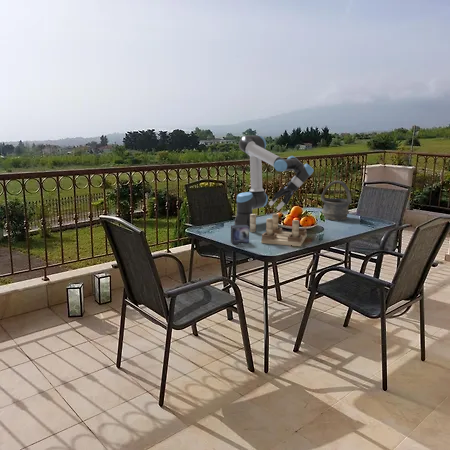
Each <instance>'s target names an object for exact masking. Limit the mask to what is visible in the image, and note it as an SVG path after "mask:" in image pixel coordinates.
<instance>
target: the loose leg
mask: <svg viewBox="0 0 450 450" xmlns="http://www.w3.org/2000/svg"><path fill="white" fill-rule="evenodd" d="M256 230H257V214H256V213H252V214H250V226H249V233H256V232H257V231H256Z"/></svg>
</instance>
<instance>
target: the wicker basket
mask: <svg viewBox="0 0 450 450" xmlns="http://www.w3.org/2000/svg"><path fill="white" fill-rule="evenodd" d="M335 184H338V185H340V186H342V187H343V189H344V191H345V193H346V194H345V195H346V198H335V197H331V198H330V197H329V198H326V197H325V194H326V193H327V192H328V189H330V188H331V186H334V185H335ZM347 185H348V184H346V183H345V182H344V181H342V180H333V181H331V182H330V183H329V184H328V185H327V186H326V187H325V188H324V190H323V191H322V193H321V194H320V200H321V201H322V203H324V204H323V206H322V207H323V208H322V210H321V213H322V215H323V214H324V216H325V220H327V219H328V220H327V221H336V220H338V221H344V220H345V221H346V220H348V215H349V214H350V212H349V205H350V204H352V195H351V191H350V189H349V187H348V186H347Z"/></svg>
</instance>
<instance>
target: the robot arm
mask: <svg viewBox="0 0 450 450" xmlns="http://www.w3.org/2000/svg"><path fill="white" fill-rule="evenodd" d="M238 147H239V149H240V150H241V151H242V152H243V153H245V154H247V156H249V165H250V166H249V169H250V171H249V172H250V189H249V191H246V192H241V193H238V194H237V195H236V215H235V218H234V223H233V224H235V225H248V226H249V227H250V214H253V210H256V209H261V208H264V207H265V206H266V205H267V204H268V205H269V206H270V207H272V206H273V205H274V204H275V203H276V201H277V200H278V199H279V198H280V197H283V196H284V197H283V200H282V201H281V202H280V203H278V205H277V206H276V207H275V209H276V210H277V211H280V210H281V209H282V208H283V206H284V205H288V204H289V201H290V200H291V198H292V196H293V195H294V194H295V192H297V190H298V189H299V188H300V187H301V186H302V185H303V184H304V183H305V182H306V180H308V178H310V177H311V175H312V174H313V173H314V171H315V170H314V168H313V167H312V166H311V165H309V164H308V163H305V164H304V163H303V162H301V161H300V160H299V159H298V158H297V157H296V156H294V155H290V156H288V157H287V158H286V159H285V158H283V157H281V156H279V155H278V154H277V155H276V153H273V152H271V151H269V150H267V149H266V148H267V141H266V139H265V138H264V136H262V135H259V134H257V135H256V134H255V135H243V136H241V138H240V139H239V142H238ZM262 161H263V162H264V163H266V164H268V165H270V166H272V167H273V168H274V169H275V172H287V171H289V172H290V171H293V172H295V175H294V176H293V177H292V178H291V180H290V181H289V182H287V184H286V185H284V186H283V187H282V188H281V189H279V190H278V191H277V192H275V193H274V194H273V196H274V197H272V199H271V200H270V201H269V202H268V200H269V197H268V195H267V193H266V191H265V189H264V188H263V170H262V167H263V166H262V165H263V164H262Z"/></svg>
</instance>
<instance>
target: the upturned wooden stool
mask: <svg viewBox="0 0 450 450" xmlns="http://www.w3.org/2000/svg"><path fill="white" fill-rule="evenodd" d="M265 224H266V225H265V226H266V229H265V232H263V233H262V234H261V244H267V245H268V244H269V245H278V246H279V245H281V246H282V245H283V246H291V245H292V247H302V245H303V243H304V242H305V240H306V239H307V236H308V235H307V229H305V228H300V220H299V219H293V220H292V225H291V226H292V227H291V231H283V227H279V213H272V214H271V218H269V217H268V218H266V223H265Z"/></svg>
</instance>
